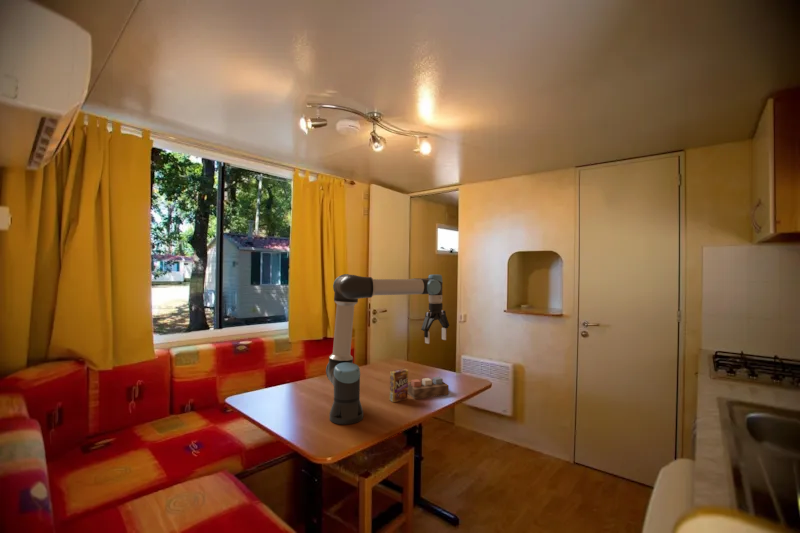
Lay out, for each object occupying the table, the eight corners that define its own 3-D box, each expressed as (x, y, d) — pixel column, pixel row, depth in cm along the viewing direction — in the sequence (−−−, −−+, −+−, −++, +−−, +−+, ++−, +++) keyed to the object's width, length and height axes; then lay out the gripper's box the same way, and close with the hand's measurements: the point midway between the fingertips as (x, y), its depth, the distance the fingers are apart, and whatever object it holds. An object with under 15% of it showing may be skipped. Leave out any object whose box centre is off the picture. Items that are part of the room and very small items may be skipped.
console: (414, 399, 183) (414, 389, 183) (405, 391, 194) (405, 382, 194) (448, 394, 190) (448, 385, 190) (438, 387, 201) (438, 378, 201)
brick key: (414, 389, 187) (414, 382, 187) (411, 387, 191) (411, 379, 191) (420, 388, 189) (421, 381, 189) (417, 386, 192) (417, 379, 192)
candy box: (393, 403, 178) (394, 372, 178) (389, 400, 181) (389, 370, 181) (408, 399, 182) (408, 370, 183) (403, 397, 186) (403, 368, 186)
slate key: (436, 386, 192) (436, 379, 192) (432, 384, 196) (432, 377, 196) (442, 386, 193) (442, 378, 193) (439, 383, 197) (439, 376, 197)
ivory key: (425, 388, 190) (425, 380, 190) (422, 385, 193) (422, 378, 193) (431, 387, 191) (431, 380, 191) (428, 385, 195) (428, 377, 195)
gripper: (424, 304, 182) (425, 346, 182) (455, 301, 198) (455, 339, 198) (414, 303, 187) (414, 343, 187) (445, 300, 204) (445, 337, 204)
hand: (435, 341), depth 193 cm, fingers open, 13 cm apart
